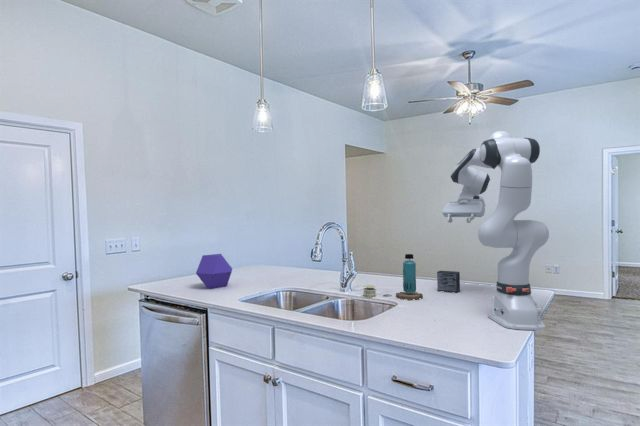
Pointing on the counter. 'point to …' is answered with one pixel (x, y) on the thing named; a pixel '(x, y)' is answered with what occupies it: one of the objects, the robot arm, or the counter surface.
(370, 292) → the stacked layers on plate
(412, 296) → the gear plate
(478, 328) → the counter surface
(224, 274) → the purple faceted block
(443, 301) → the counter surface
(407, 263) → the beverage bottle
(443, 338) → the counter surface
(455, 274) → the small box
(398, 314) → the counter surface
